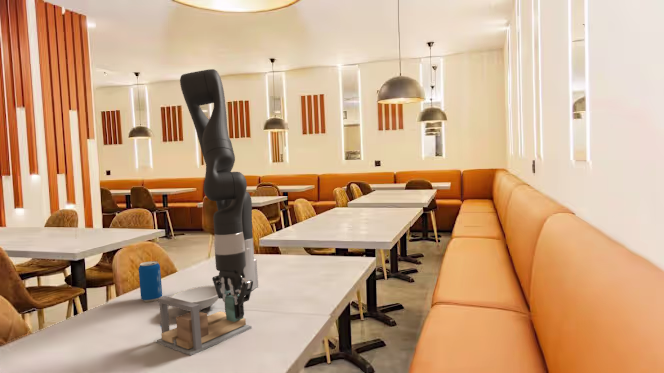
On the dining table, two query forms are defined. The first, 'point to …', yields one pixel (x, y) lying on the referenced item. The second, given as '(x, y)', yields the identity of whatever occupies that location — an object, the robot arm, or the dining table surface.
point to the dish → (199, 296)
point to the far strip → (170, 335)
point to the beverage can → (150, 281)
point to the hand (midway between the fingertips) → (234, 316)
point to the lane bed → (195, 326)
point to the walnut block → (190, 326)
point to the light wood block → (216, 317)
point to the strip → (219, 325)
